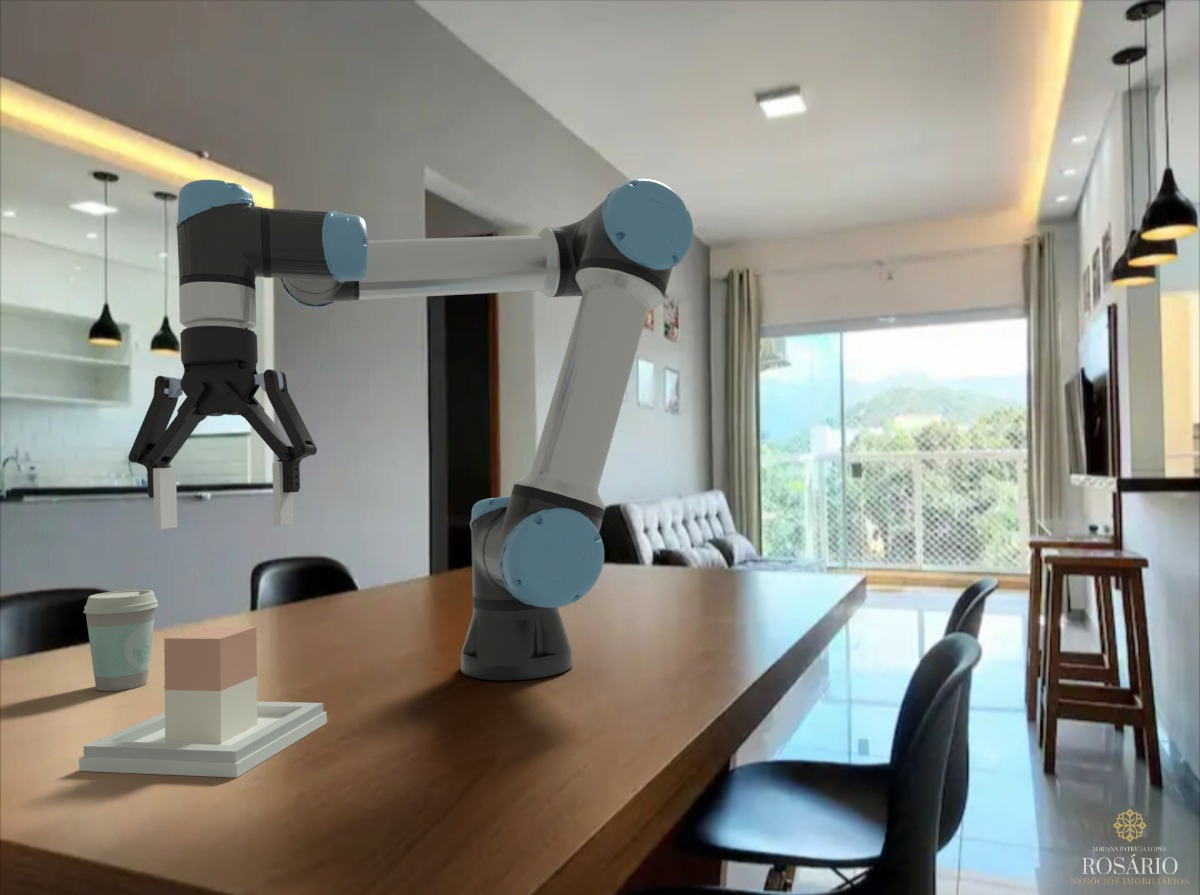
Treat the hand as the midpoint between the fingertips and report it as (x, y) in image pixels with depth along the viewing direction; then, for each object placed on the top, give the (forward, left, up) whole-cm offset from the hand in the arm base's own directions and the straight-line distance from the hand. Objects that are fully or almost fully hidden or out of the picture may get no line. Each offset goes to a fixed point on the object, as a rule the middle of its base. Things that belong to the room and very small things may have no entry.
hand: (224, 526), depth 88 cm
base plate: (-2, +5, -22) cm, 22 cm away
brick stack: (-2, +5, -20) cm, 21 cm away
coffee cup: (+26, -16, -22) cm, 38 cm away
